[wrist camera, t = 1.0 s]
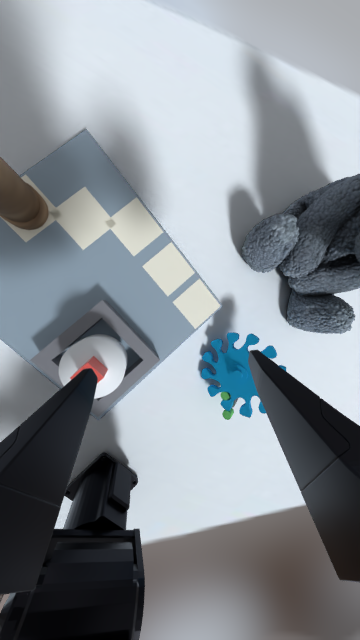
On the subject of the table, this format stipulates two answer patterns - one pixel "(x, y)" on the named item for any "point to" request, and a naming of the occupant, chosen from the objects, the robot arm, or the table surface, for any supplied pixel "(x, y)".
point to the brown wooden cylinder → (20, 201)
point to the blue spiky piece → (234, 374)
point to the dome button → (96, 362)
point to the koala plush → (314, 254)
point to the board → (95, 272)
